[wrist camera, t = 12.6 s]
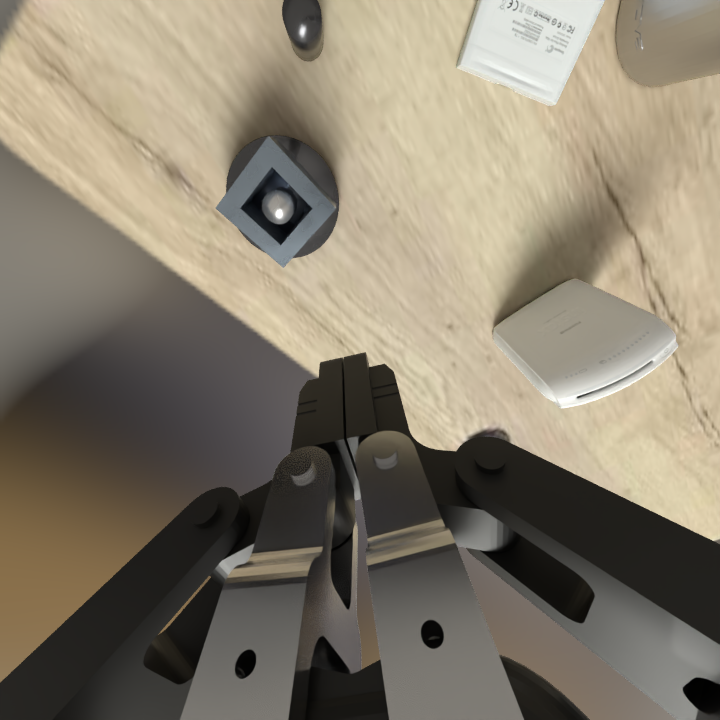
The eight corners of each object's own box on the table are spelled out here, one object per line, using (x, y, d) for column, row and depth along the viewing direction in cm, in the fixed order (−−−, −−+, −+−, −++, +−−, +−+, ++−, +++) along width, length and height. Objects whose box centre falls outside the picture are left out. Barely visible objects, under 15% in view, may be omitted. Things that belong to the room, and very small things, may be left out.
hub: (320, 121, 24) (318, 114, 21) (350, 240, 29) (353, 252, 25) (209, 154, 25) (187, 154, 21) (256, 266, 30) (245, 282, 26)
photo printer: (577, 269, 32) (693, 322, 22) (588, 301, 34) (700, 363, 24) (484, 326, 35) (549, 398, 25) (500, 353, 37) (566, 429, 27)
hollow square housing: (277, 139, 24) (268, 135, 21) (335, 202, 27) (336, 208, 23) (230, 201, 26) (215, 208, 23) (289, 254, 29) (283, 267, 25)
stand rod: (317, 12, 21) (314, -19, 18) (327, 55, 23) (326, 35, 19) (286, 22, 22) (276, -7, 18) (297, 65, 23) (290, 46, 19)
